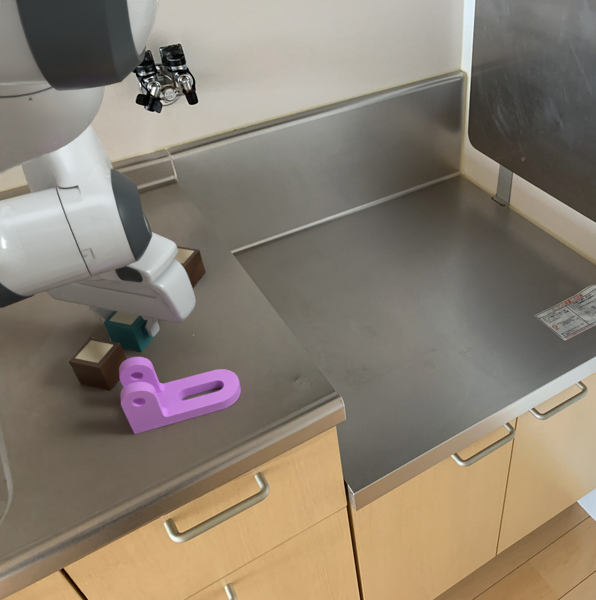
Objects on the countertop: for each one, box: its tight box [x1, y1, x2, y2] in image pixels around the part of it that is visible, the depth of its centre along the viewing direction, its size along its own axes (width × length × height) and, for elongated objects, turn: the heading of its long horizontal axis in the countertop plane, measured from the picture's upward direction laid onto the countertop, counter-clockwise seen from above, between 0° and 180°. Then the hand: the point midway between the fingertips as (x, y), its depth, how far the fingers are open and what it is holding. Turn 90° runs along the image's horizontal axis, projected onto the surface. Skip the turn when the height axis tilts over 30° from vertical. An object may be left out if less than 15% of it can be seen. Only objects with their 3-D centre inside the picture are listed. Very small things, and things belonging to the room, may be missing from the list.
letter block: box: [102, 311, 155, 353], centre depth 83 cm, size 4×4×4 cm
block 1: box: [68, 336, 128, 392], centre depth 78 cm, size 4×4×4 cm
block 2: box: [175, 245, 206, 289], centre depth 93 cm, size 4×4×4 cm
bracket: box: [119, 356, 242, 435], centre depth 74 cm, size 13×6×7 cm, turn 111°
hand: (133, 329), depth 83 cm, fingers closed on letter block, 4 cm apart
